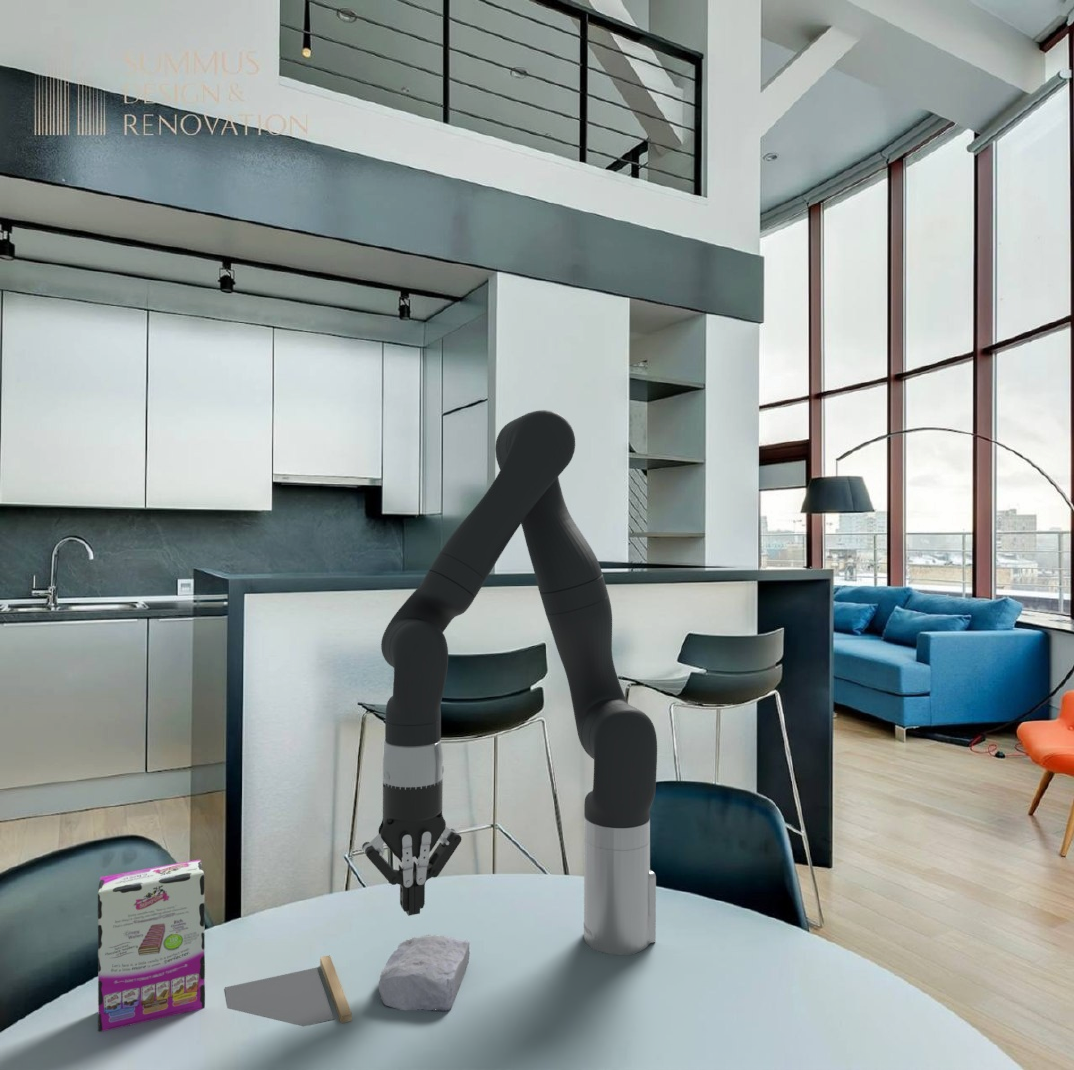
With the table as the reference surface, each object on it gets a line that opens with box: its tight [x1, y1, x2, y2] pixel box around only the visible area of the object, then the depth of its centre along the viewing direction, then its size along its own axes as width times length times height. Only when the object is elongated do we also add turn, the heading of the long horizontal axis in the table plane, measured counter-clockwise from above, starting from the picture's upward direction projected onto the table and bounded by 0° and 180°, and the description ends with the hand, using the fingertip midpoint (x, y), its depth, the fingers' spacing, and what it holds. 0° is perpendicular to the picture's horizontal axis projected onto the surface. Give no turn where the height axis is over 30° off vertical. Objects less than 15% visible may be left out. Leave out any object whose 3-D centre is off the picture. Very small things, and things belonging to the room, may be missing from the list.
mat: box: [224, 967, 335, 1027], centre depth 94 cm, size 11×12×1 cm
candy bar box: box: [97, 859, 206, 1032], centre depth 92 cm, size 11×5×16 cm, turn 117°
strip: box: [319, 955, 353, 1024], centre depth 97 cm, size 1×14×1 cm, turn 25°
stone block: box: [378, 934, 471, 1012], centre depth 99 cm, size 12×5×10 cm
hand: (411, 912), depth 101 cm, fingers closed
